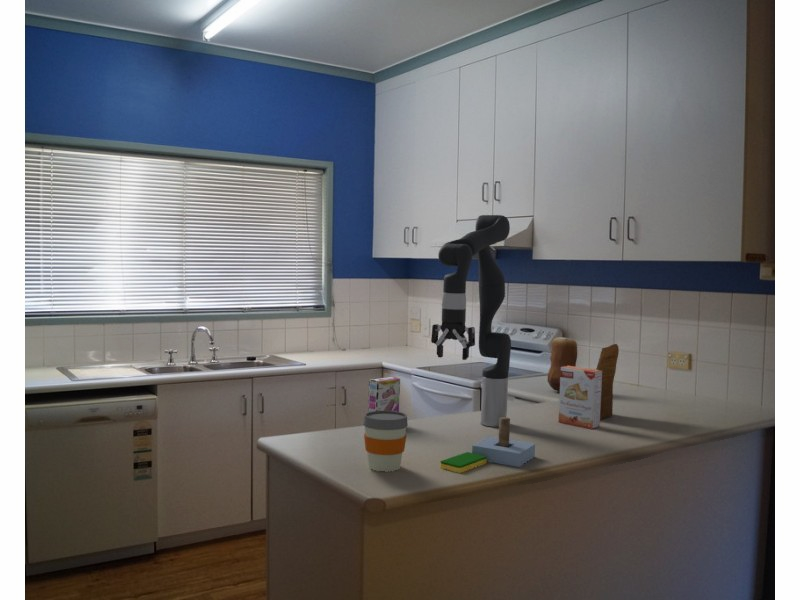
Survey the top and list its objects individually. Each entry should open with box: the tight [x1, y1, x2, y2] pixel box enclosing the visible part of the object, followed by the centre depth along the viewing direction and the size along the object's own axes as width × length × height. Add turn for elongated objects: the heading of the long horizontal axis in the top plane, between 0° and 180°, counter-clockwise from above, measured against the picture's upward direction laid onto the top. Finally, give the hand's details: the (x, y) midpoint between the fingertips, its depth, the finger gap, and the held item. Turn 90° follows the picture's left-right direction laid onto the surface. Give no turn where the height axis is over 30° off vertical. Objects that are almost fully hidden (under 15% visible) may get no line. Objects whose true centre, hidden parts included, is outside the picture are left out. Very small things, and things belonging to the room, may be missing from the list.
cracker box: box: [557, 366, 602, 430], centre depth 265 cm, size 14×6×21 cm, turn 47°
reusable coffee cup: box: [363, 411, 409, 473], centre depth 206 cm, size 13×13×15 cm
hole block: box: [471, 436, 536, 468], centre depth 220 cm, size 13×15×4 cm
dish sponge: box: [439, 451, 488, 474], centre depth 211 cm, size 7×14×2 cm, turn 140°
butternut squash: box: [546, 336, 578, 393], centre depth 328 cm, size 14×13×25 cm
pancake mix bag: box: [595, 343, 620, 421], centre depth 279 cm, size 7×19×28 cm, turn 138°
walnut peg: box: [498, 417, 511, 448], centre depth 219 cm, size 3×3×12 cm
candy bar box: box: [367, 376, 401, 413], centre depth 258 cm, size 11×5×16 cm, turn 135°
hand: (452, 358), depth 230 cm, fingers open, 8 cm apart
